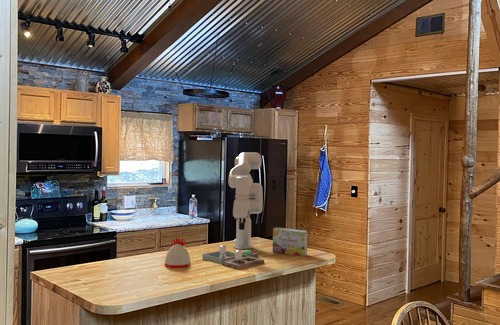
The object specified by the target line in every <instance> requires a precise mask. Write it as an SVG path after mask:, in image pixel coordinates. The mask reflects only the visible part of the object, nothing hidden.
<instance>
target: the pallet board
mask: <svg viewBox="0 0 500 325" xmlns="http://www.w3.org/2000/svg"><path fill="white" fill-rule="evenodd" d="M262 264H265V259H263V258H259V257H258V258H255V257H251V256H247V257H242V263H239V264H238V263H235V259H233V260H228V261H223V264H222V266H223V267H227V268H230V269H235V270H238V271H239V270H242V269H246V268H251V267H255V266H259V265H262Z"/></svg>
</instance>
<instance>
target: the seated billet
mask: <svg viewBox="0 0 500 325" xmlns="http://www.w3.org/2000/svg"><path fill="white" fill-rule="evenodd" d="M242 252H243V249H236V250H234V253H235V263H238V264H239V263H242Z"/></svg>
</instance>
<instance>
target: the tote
mask: <svg viewBox="0 0 500 325" xmlns="http://www.w3.org/2000/svg"><path fill="white" fill-rule="evenodd" d="M242 257H243V255H242ZM201 259H202V260H203V261H206V262H207V261H209V262H213V263H217V264H221V265H223V261H228V260H233V259H235V251H234V252H232V251H228V250H226V258H223V259H221V258H219V250H218V251H213V252H207V253H203V254H202V258H201Z"/></svg>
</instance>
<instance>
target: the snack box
mask: <svg viewBox="0 0 500 325" xmlns="http://www.w3.org/2000/svg"><path fill="white" fill-rule="evenodd" d="M272 253H276V254H284V255H289V256H290V255H292V256H298V257H299V256H300V257H305V256H307V255H308V230H303V229H293V228H285V227H273V228H272Z"/></svg>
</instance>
